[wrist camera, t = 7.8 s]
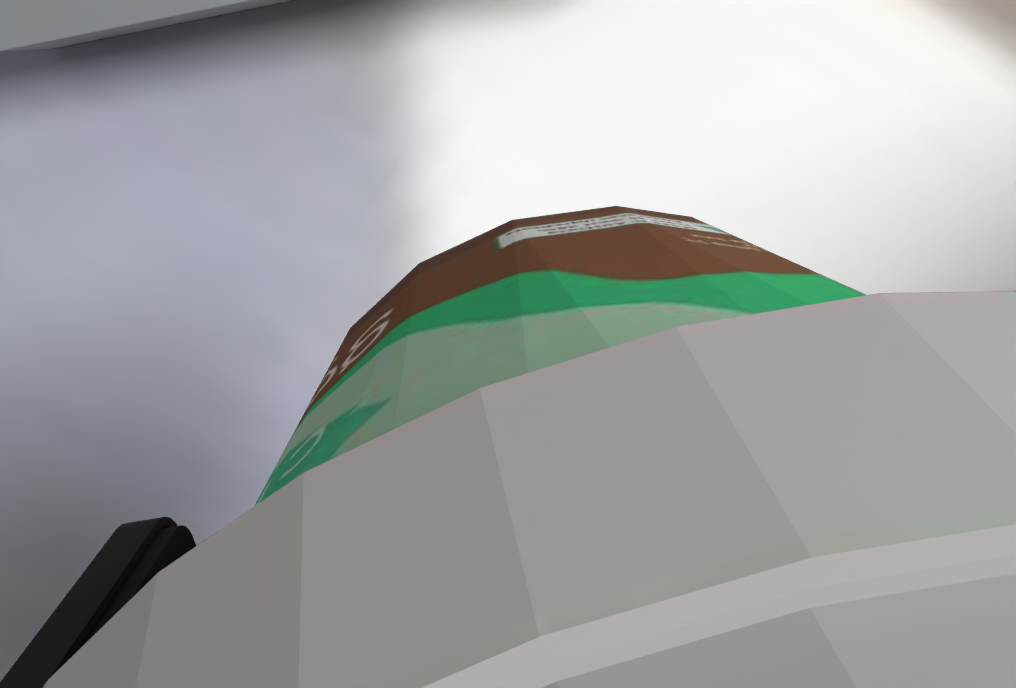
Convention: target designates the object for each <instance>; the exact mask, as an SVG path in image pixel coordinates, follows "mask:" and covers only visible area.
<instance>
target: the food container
mask: <svg viewBox="0 0 1016 688" xmlns="http://www.w3.org/2000/svg"><path fill="white" fill-rule="evenodd" d="M43 688H1016V291H1000V292H934V293H878V294H872V295H865V294H863V293H861V292H859V291H856V290H854V289H852V288H850V287H848V286H845V285H843V284H841V283H839V282H836V281H834V280H832V279H830V278H827V277H825V276H823V275H821V274H818V273H816V272H814V271H812V270H809V269H807V268H805V267H803V266H800V265H798V264H796V263H794V262H791V261H789V260H787V259H785V258H782V257H780V256H778V255H776V254H773V253H771V252H769V251H767V250H764V249H762V248H760V247H758V246H756V245H753V244H751V243H749V242H747V241H744V240H742V239H740V238H738V237H735V236H733V235H731V234H729V233H726V232H724V231H722V230H720V229H717V228H715V227H713V226H711V225H708V224H706V223H704V222H702V221H699V220H697V219H695V218H693V217H688V216H681V215H674V214H667V213H660V212H654V211H647V210H640V209H633V208H626V207H619V206H613V207H605V208H598V209H591V210H583V211H576V212H568V213H561V214H553V215H546V216H539V217H531V218H524V219H516V220H511V221H509V222H507V223H505V224H503V225H500V226H498V227H496V228H494V229H492V230H490V231H488V232H485V233H483V234H481V235H479V236H477V237H475V238H473V239H470V240H468V241H466V242H464V243H462V244H460V245H458V246H455V247H453V248H451V249H449V250H447V251H445V252H443V253H440V254H438V255H436V256H434V257H432V258H430V259H428V260H425V261H423V262H421V263H419V264H418V265H417V266H416V267H415V268H414V269H413V270H412V271H411V272H410V273H408V274H407V275H406V276H405V277H404V278H403V279H402V280H401V281H400V282H399V283H398V284H397V285H396V286H395V287H394V288H393V289H391V290H390V291H389V292H388V293H387V294H386V295H385V296H384V297H383V298H382V299H381V300H380V301H379V302H378V303H377V304H376V305H374V306H373V307H372V308H371V309H370V310H369V311H368V312H367V313H366V314H365V315H364V316H363V317H362V318H361V319H360V320H358V321H357V322H356V323H355V324H354V325H353V326H352V327H351V328H350V330H349V331H348V333H347V335H346V337H345V339H344V341H343V343H342V344H341V346H340V348H339V350H338V352H337V354H336V355H335V357H334V359H333V361H332V363H331V365H330V367H329V368H328V370H327V372H326V374H325V376H324V378H323V380H322V381H321V383H320V385H319V387H318V389H317V391H316V392H315V394H314V396H313V398H312V400H311V402H310V404H309V405H308V407H307V409H306V411H305V413H304V415H303V417H302V419H301V420H300V422H299V424H298V426H297V428H296V430H295V432H294V433H293V435H292V437H291V439H290V441H289V443H288V445H287V446H286V448H285V450H284V452H283V454H282V456H281V458H280V459H279V461H278V463H277V465H276V467H275V469H274V471H273V472H272V474H271V476H270V478H269V480H268V482H267V484H266V485H265V487H264V489H263V491H262V493H261V495H260V497H259V499H258V500H257V502H256V504H255V506H254V507H253V508H252V509H250V510H249V511H247V512H246V513H244V514H243V515H241V516H240V517H238V518H237V519H235V520H234V521H233V522H231V523H230V524H228V525H227V526H225V527H224V528H222V529H221V530H219V531H218V532H217V533H215V534H214V535H212V536H211V537H209V538H208V539H206V540H205V541H203V542H202V543H200V544H199V545H198V546H196V547H195V548H193V549H192V550H190V551H189V552H187V553H186V554H184V555H183V556H181V557H180V558H179V559H177V560H176V561H174V562H173V563H171V564H170V565H168V566H167V567H165V568H164V569H163V570H161V571H160V572H158V573H157V574H156V575H155V576H154V577H153V578H152V579H151V580H150V581H149V582H148V583H147V584H146V585H145V586H144V587H143V588H142V589H141V590H140V591H139V592H138V593H137V594H136V595H135V596H134V597H133V598H132V599H131V600H130V601H128V602H127V603H126V604H125V605H124V606H123V607H122V608H121V609H120V610H119V611H118V612H117V613H116V614H115V615H114V616H113V617H112V618H111V619H110V620H109V621H108V622H107V623H106V624H105V625H104V626H103V627H102V628H101V629H100V630H99V631H98V632H97V633H96V634H95V635H94V636H93V637H92V638H91V639H90V640H88V641H87V642H86V643H85V644H84V645H83V646H82V647H81V648H80V649H79V650H78V651H77V652H76V653H75V654H74V655H73V656H72V657H71V658H70V659H69V660H68V661H67V662H66V663H65V664H64V665H63V666H62V667H61V668H60V669H59V670H58V671H57V672H56V673H55V674H54V675H53V676H52V677H51V678H50V679H48V681H47V682H46V684H45V685H44V687H43Z"/></svg>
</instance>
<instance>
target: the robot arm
mask: <svg viewBox="0 0 1016 688" xmlns="http://www.w3.org/2000/svg"><path fill="white" fill-rule="evenodd" d="M195 547H196V544H195V541H194V539H193V536H192V534H191V532H190V530H189V529H188V528H187V527H185V526H182V525H181V526H177V524H176V523H175V522H174V521H173V520H172V519H171V518H168V517H162V518H156V519H150V520H143V521H137V522H131V523H126V524H122V525H121V526H119V527H118V528H117V529H116V530H115V532H114V533H113V534H112V536H111V537H110V538H109V540H108V541H107V542H106V544H105V545H104V546H103V548H102V549H101V550H100V552H99V553H98V554H97V555H96V557H95V558H94V559H93V561H92V562H91V563H90V565H89V566H88V567H87V569H86V570H85V571H84V573H83V574H82V575H81V577H80V578H79V579H78V581H77V582H76V583H75V585H74V586H73V587H72V588H71V590H70V591H69V592H68V594H67V595H66V596H65V598H64V599H63V600H62V602H61V603H60V604H59V606H58V607H57V608H56V610H55V611H54V612H53V614H52V615H51V616H50V618H49V619H48V620H47V621H46V623H45V624H44V625H43V627H42V628H41V629H40V631H39V632H38V633H37V635H36V636H35V637H34V639H33V640H32V641H31V643H30V644H29V645H28V647H27V648H26V649H25V651H24V652H23V653H22V655H21V656H20V657H19V658H18V660H17V661H16V662H15V664H14V665H13V666H12V668H11V669H10V670H9V672H8V673H7V674H6V676H5V677H4V678H3V680H2V681H1V682H0V688H43V687H44V685H45V684H46V682H47V681H48V679H50V678H51V677H52V676H53V675H54V674H55V673H56V672H57V671H58V670H59V669H60V668H61V667H62V666H63V665H64V664H65V663H66V662H67V661H68V660H69V659H70V658H71V657H72V656H73V655H74V654H75V653H76V652H77V651H78V650H79V649H80V648H81V647H82V646H83V645H84V644H85V643H86V642H87V641H88V640H90V639H91V638H92V637H93V636H94V635H95V634H96V633H97V632H98V631H99V630H100V629H101V628H102V627H103V626H104V625H105V624H106V623H107V622H108V621H109V620H110V619H111V618H112V617H113V616H114V615H115V614H116V613H117V612H118V611H119V610H120V609H121V608H122V607H123V606H124V605H125V604H126V603H127V602H128V601H130V600H131V599H132V598H133V597H134V596H135V595H136V594H137V593H138V592H139V591H140V590H141V589H142V588H143V587H144V586H145V585H146V584H147V583H148V582H149V581H150V580H151V579H152V578H153V577H154V576H155V575H156V574H157V573H158V572H160V571H161V570H163V569H164V568H165V567H167V566H168V565H170V564H171V563H173V562H174V561H176V560H177V559H179V558H180V557H181V556H183V555H184V554H186V553H187V552H189V551H190V550H192V549H193V548H195Z"/></svg>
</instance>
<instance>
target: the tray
mask: <svg viewBox="0 0 1016 688" xmlns="http://www.w3.org/2000/svg"><path fill="white" fill-rule="evenodd" d="M288 1H293V0H0V52H2V51H21V50H40V49H54V48H59V47H64V46H68V45H73V44H78V43H83V42H88V41H93V40H98V39H103V38H108V37H113V36H118V35H123V34H128V33H133V32H138V31H143V30H148V29H153V28H158V27H163V26H168V25H173V24H178V23H183V22H188V21H193V20H198V19H203V18H208V17H213V16H218V15H223V14H228V13H233V12H238V11H243V10H248V9H253V8H258V7H263V6H268V5H273V4H278V3H283V2H288Z"/></svg>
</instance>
